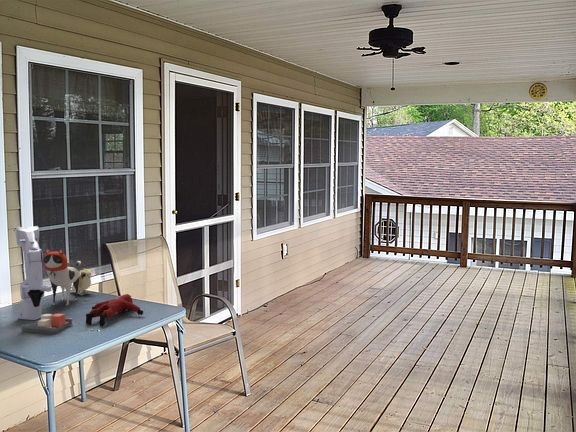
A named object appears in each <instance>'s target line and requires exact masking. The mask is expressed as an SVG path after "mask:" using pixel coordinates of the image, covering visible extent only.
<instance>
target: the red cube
mask: <svg viewBox="0 0 576 432" xmlns="http://www.w3.org/2000/svg"><path fill="white" fill-rule="evenodd" d="M65 318H66V314H65V313H54V314H53V315H52V316H51V326H58V327H60V326H62V325H64V324H65Z"/></svg>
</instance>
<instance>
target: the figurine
mask: <svg viewBox="0 0 576 432" xmlns="http://www.w3.org/2000/svg"><path fill="white" fill-rule="evenodd" d="M41 262H42V261H41ZM81 264H82V261H81V260H76V262H74V263H72V262H68V257H67V256H66V254H64V250H63V248H60V250H59V251H51V250H50V249H48V248H46V249H45V255H43V262H42V266H44V270H45V271H46V272H47V276H48V278H49V281H50V285H51V286H50V287H51V291H52V295H53V296H52V297H53V298H52V299H53V300H52V303H51V305H52V306H55V305H56V295H57V288H58V287H60V289H61V292H62V293H61V299H60V300H61V301H64V300H65V292H66V298H67V301H66V304H65V306H69V305H70V302H69V300H70V295H71V290H72V288H71V287H72V285H73V286H74V287H75V289H76V290H75V297H74V299H73V301H78V295H79V294H78V285H79V279H80V275H81V273H80V271H81V270H80V268H79V266H80V265H81Z"/></svg>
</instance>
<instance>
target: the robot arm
mask: <svg viewBox="0 0 576 432" xmlns="http://www.w3.org/2000/svg"><path fill="white" fill-rule="evenodd" d="M15 238H16V240H15V241H16V244H17V246H18V247H20V248H21V250H22V254H23V261H24V273H25V279H24V280H23V281H22V282H20V286H19V288H20V289H19V290H20V298H21V299H20V301H19V302H18V317H17V319H18V320H29V321H37V320H38V319H39V320H40V319H41V316H42V315H44V314H45V313H44V314H42V313H43V312H42V310H43V308H42V298H44V296H45V292H47V293H49V292H52V286H48V285H44V281H43V263H42V262H43V258H44V253H43V249H42V248H40V245H39V240H40V228H39V226H38V225H35V226H34V225H33V226H17V227H15Z"/></svg>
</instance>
